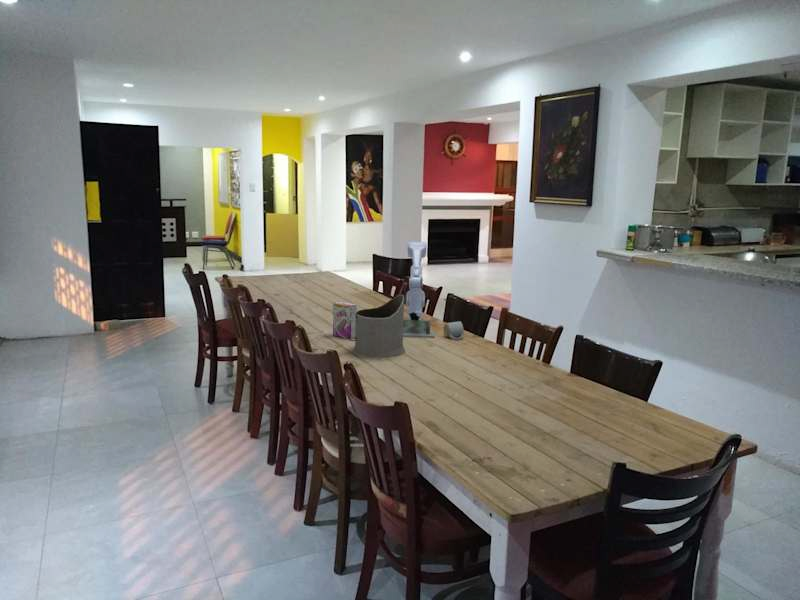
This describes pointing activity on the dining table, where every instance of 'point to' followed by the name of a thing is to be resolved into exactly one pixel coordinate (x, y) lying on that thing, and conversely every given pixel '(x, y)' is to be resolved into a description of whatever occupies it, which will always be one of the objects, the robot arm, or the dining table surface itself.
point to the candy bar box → (344, 320)
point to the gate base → (420, 333)
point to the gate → (415, 325)
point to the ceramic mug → (454, 330)
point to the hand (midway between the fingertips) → (414, 327)
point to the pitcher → (379, 330)
